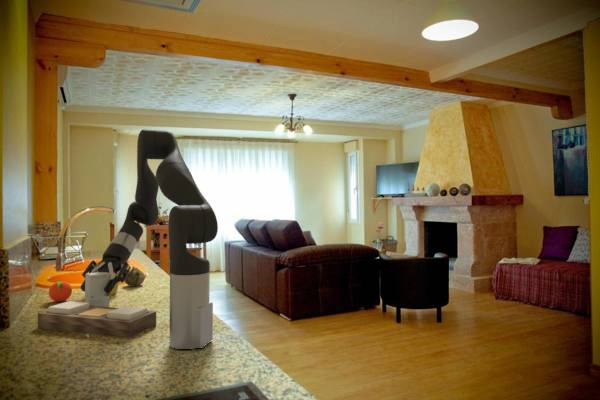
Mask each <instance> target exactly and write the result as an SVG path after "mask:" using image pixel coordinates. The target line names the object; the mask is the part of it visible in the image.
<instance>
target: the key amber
mask: <svg viewBox="0 0 600 400" xmlns="http://www.w3.org/2000/svg"><path fill="white" fill-rule="evenodd" d="M112 310H114V309H103V308H95V309H92V310H89V311H86V312H83V313H80V314H77V315H81V316H91V317H101V316H104V315H107V312H110V311H112Z"/></svg>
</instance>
